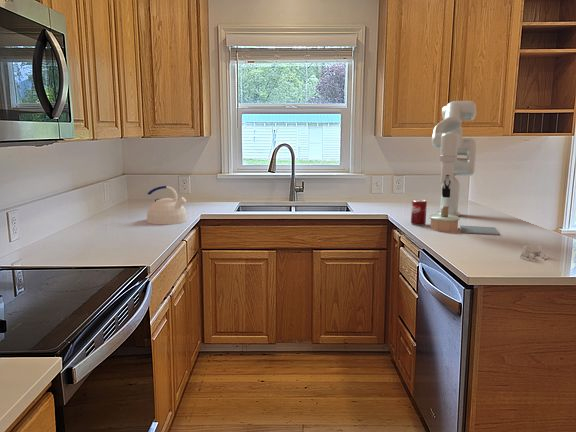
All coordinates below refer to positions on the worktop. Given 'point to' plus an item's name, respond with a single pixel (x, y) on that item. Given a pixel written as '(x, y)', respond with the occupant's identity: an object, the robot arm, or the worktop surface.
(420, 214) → the soda can
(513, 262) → the worktop surface
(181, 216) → the kettle
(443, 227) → the bowl
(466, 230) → the mat
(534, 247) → the fabric
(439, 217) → the lid
